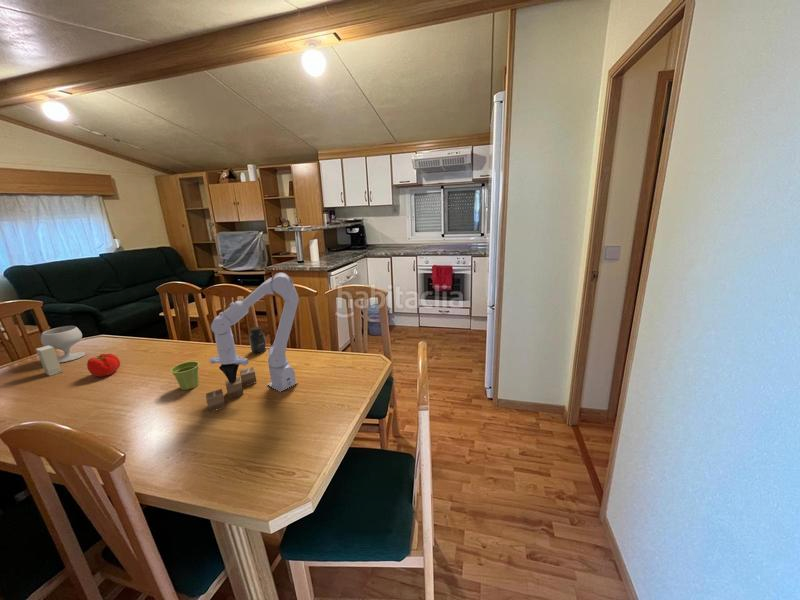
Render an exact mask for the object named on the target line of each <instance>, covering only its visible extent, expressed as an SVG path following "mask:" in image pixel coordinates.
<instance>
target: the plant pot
mask: <svg viewBox="0 0 800 600" xmlns="http://www.w3.org/2000/svg"><path fill="white" fill-rule="evenodd" d="M199 366H200V362H198V361H197V360H196V361H195V360H194V361H192V360H191V361H185V362H181V363H180V364H176V365H175V366H173V367H172V368H171V369H170V373H172V375H173V376H174V377H175V379H176V381H177V384H178V386H179V389H180V390H182V391H188V390H189V389H194V388H196V387H198V386H199V384H200V383H199Z"/></svg>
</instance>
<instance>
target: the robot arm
mask: <svg viewBox="0 0 800 600" xmlns="http://www.w3.org/2000/svg"><path fill="white" fill-rule="evenodd" d="M275 293H276V294H278V295H279V296H281V297H282V299H283V301H284V305H283V308H282V312H281V316H280V320H279V323H278V326H277V331H276V334H275V338H274V340H273V342H272V343H273V344H272V345H271V346H270V347H269V349H268V358H267V363H268V370H269V376H270V382H269V383H267V386H268V385H269V384H270V385H269V386H270V388H271V387H272V388H271V389H273V388H274V390H275V389H276V390H275V391H277V390H278V391H277V392H279V391H280V392H279V393H282V392H281V391H283V390H285V389H287V388H288V389H290V388H292V387H294V386H295V385H294V384H296V382H297V381H296V374H295V370H294V368H293V367H292V366H291V365H290V364H289V363H290V362H289V360H288V358H287V357H286V356H287V355H286V353H287V352H286V351H287V346H288V341H289V338H290V334H291V330H292V328H293V323H294V319H295V316H296V312H297V308H298V305H299V301H300V298H299V293H298V292H297V289H296V287H295V284H294V282H293V280H292V278H291V277H290V276H289V275H288V274H287V273H285V272H277V273H275V274H274V275H273V276H272V277H269V278H267V279H266V280H265V281H264V282H262V283H261V284H260V285H259V286H258V287H257V288H255V289H254V290H253V292H251V293H250V294H249V295H247V296H246V298H244V299H243V300H236V301H235V302H234V301H231V303H229V306H228V307H227V308H226V309H225V310H224V311H223V312H222V311H221V312H219V313H218V315H216V316H215V317H214V319H213V320H212V322H211V325H210V329H211V331H212V332H213V334H214V339H215V344H216V350H217V354H218V356H212V357H210V358H209V359H208V360H209V364H211V365H213V364H220V366H219V368H218V369H219V370H220V371H221V372H222V373H223V374H224V375H225V376H226V377H225V378H226V379H227V380H229V382H232V383H233V382H234V381H235V380H236V378H237V374H238V373H237V372H238V368H239V366H240V365H242V366H245V367H246V366H247V365H248V364H249V359H248V358H246V357H245V358H244V357H242V356H239V355H238V353H237V350H236V345H235V340H234V334H233V331H232V326H233V325H236V324H237V323H238V322H239V321H241V320H242V319H243V318H244V317H245V316H246V315H248V314H249V311H250V310H249V309H250V307H252V306H253V305H254V304H256V303H257V302H259V300H261V299H262V298H263V297H264V296H266V295H275ZM293 385H294V386H293ZM296 385H297V384H296ZM269 386H268V387H269ZM291 386H292V387H291ZM289 387H290V388H289ZM288 389H287V390H288ZM285 391H286V390H285ZM283 392H284V391H283Z"/></svg>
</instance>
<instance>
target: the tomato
mask: <svg viewBox="0 0 800 600" xmlns="http://www.w3.org/2000/svg"><path fill="white" fill-rule="evenodd" d="M86 364H87V365H86V367H87V370H88V371H89V373H90V374H91V375H93V376H96V377H105V376H110V375H112V374H113V373H114V372H116V371H117V370H118V369H119V368H120V367H121V366H120V365H121V360H120V358H119V357H118V356H117V355H115V354H113V353H101V354H99V355H95V357H91V358H89V359H88V361H87V363H86Z"/></svg>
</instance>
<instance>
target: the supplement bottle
mask: <svg viewBox="0 0 800 600" xmlns="http://www.w3.org/2000/svg"><path fill="white" fill-rule="evenodd" d="M262 331H263V330H262V327H260V326H255V327H251V328H250V331H249V332H250V334H249V336H248V338H249V344H250V349H251V350H250V351H251V353H252V354H254V353H255V355H257V354H256V353H259V354H262V353H261V352H263V353H265V352H266V351H267V345H266V338H265V333H264V332H262ZM265 347H266V348H265ZM264 351H265V352H264Z"/></svg>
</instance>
